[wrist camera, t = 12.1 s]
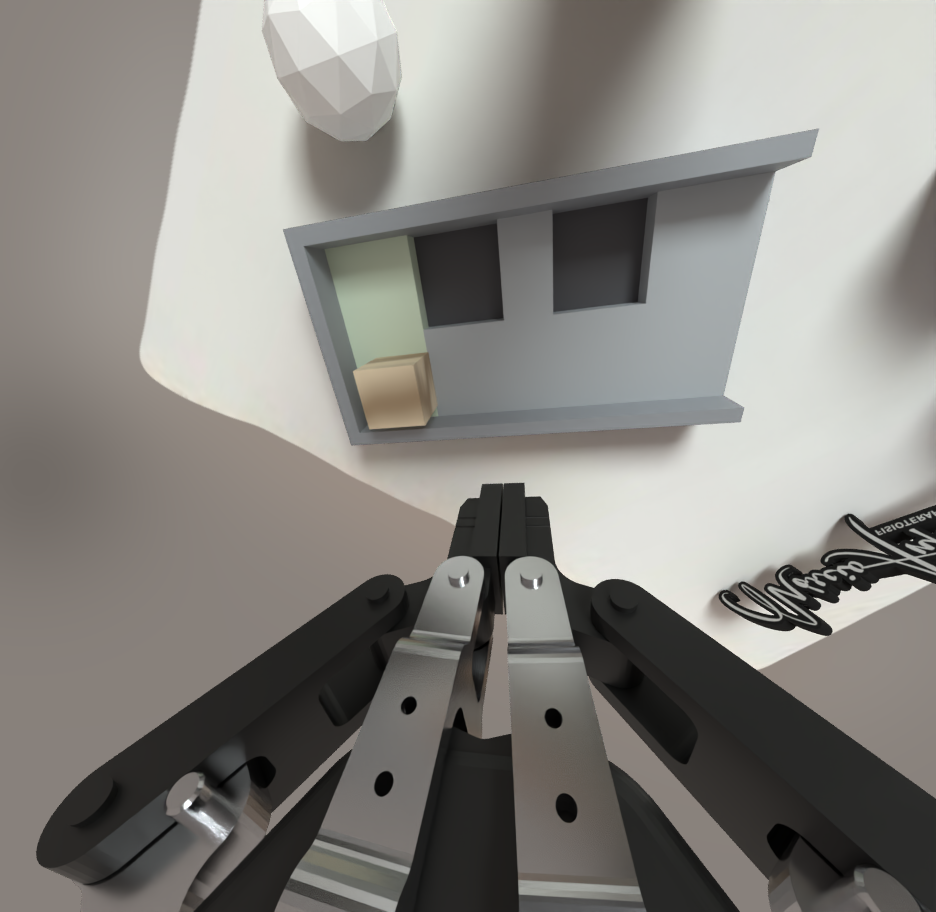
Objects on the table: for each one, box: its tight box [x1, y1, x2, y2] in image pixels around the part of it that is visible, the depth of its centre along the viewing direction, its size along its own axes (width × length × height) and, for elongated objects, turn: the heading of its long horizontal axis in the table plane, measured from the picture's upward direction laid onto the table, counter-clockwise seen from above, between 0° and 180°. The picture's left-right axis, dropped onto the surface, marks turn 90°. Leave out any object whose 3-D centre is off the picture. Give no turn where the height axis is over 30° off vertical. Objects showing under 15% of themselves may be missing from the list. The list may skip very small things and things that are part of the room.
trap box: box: [283, 129, 819, 445], centre depth 28 cm, size 17×33×6 cm, turn 97°
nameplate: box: [719, 505, 936, 636], centre depth 32 cm, size 27×2×10 cm, turn 148°
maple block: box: [353, 352, 438, 429], centre depth 29 cm, size 5×5×5 cm
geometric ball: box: [262, 0, 402, 141], centre depth 21 cm, size 8×8×8 cm
